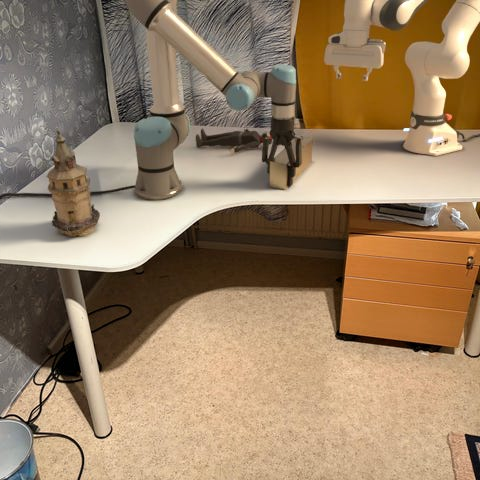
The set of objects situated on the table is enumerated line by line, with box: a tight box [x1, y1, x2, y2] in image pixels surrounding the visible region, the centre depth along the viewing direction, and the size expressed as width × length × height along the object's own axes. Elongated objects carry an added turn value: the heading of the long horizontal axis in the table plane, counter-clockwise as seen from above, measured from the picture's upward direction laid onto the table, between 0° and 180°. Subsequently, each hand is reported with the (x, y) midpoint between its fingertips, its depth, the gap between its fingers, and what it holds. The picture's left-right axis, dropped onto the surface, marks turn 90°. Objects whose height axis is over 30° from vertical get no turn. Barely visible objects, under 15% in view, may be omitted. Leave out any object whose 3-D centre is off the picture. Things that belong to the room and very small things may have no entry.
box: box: [269, 136, 314, 191], centre depth 187 cm, size 27×6×9 cm, turn 155°
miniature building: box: [46, 129, 101, 237], centre depth 148 cm, size 13×14×30 cm
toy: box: [195, 127, 273, 155], centre depth 214 cm, size 26×6×30 cm
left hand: (281, 183), depth 181 cm, fingers closed on box, 6 cm apart
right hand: (351, 79), depth 188 cm, fingers open, 8 cm apart
